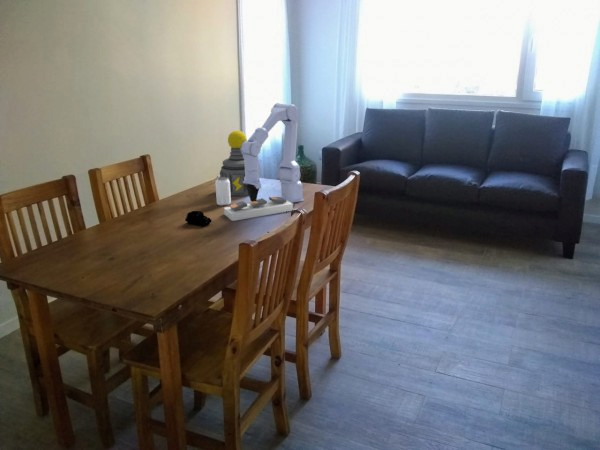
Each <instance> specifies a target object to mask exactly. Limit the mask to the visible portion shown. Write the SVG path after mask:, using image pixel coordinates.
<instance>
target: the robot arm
mask: <svg viewBox="0 0 600 450" xmlns="http://www.w3.org/2000/svg"><path fill="white" fill-rule="evenodd" d="M298 118H299V109H298V108H297V106H296V105H295V104H293V103H291V104H287V103H279V102H277V103H275V104H273V106H272V108H271V110H270V113H269V116H268V117H267V119H266V120H265V121H264V123H263V124H262V126H261V127H257V128H255V130H254V132H253V133H252V135H250V137H249V138H248V139H247V141H245V142H244V143H243V144H242V146H241V148H240V150H241V153H242V154H243V158H244V164H245V177H244V181H243V183H247V184H248V185H245V187H246V189H247V191H248V194H249V195H248V197H249V201H250V202H254V201H256V200H258V193H259V192H260V191H259V190H260V189H262V183H261V181H260V172H259V155H260V153H261V150H262V146H263V145H264V144H265V142H266V140H267V139H268V137H269V132H270V131H271V130H272V129H273V128H274V127H275V126H276V125H277V124H278V123H279V122H282V124H283V125H284V126H285V127H284V140H283V141H284V144H283V159H282V161H281V162H280V163H279V164H278V168H277V172H276V176H277V178H278V180H279V182H280V188H281V189H280V190H281V192H280V193H281V194H280V195H281V197H282V198H284V199H285V200H287V201H289V202H291V203H292V204H293V203H297V202H298V203H299V202H303V201H304V200H305V199H304V189H303V188H304V187H303V184H302V182H301V180H300V179H301V171H300V170H301V166H300V165H299V164H298V162H296V153H297V139H298V138H297V137H298V136H297V135H298V126H299V125H298V122H299V121H298Z"/></svg>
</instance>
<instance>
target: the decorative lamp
mask: <svg viewBox="0 0 600 450" xmlns="http://www.w3.org/2000/svg"><path fill="white" fill-rule="evenodd" d="M245 141H248V138H247V136H246V134H245V133H244V132H243V131H241V130H233V131H231V132H230V133H229V134H228V137H227V143H228V146H229V147H230V151H229V154H230V155H229V157H228V158H226V159H224V160H222V166H220V172H219V177H228V179H229V181H230V194H231V196H233V197H243V196H249V194H248V191H247V189H246V187H245V185H248V184H247V183H243V181H244V177H245V164H244V158H243V154H242V153H241V150H240V148H241V146H242V144H243V143H244V142H245Z"/></svg>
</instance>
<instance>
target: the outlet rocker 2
mask: <svg viewBox="0 0 600 450" xmlns="http://www.w3.org/2000/svg"><path fill="white" fill-rule="evenodd" d="M267 201H268V200H266V199H265V198H262V197H261V198H259V199H258V198H257V200H256V201H254V202H251V201H250V202H249V204H250V205H252V206H253V207H257V206H260V205H263V204H266V203H267Z"/></svg>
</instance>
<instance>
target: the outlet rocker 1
mask: <svg viewBox="0 0 600 450" xmlns="http://www.w3.org/2000/svg"><path fill="white" fill-rule="evenodd" d="M247 204H248V203H246V202H245V201H243V200H241V201H238V202H236V203H233V204H229V207H230V208H231V209H233V210H234V211H235V210H238V209H241V208H244V207H247Z"/></svg>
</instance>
